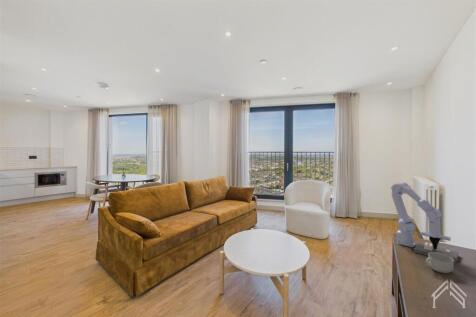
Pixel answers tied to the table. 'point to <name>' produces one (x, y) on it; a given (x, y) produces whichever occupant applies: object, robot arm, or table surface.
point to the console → (421, 250)
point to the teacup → (440, 262)
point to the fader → (428, 246)
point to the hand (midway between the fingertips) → (435, 248)
